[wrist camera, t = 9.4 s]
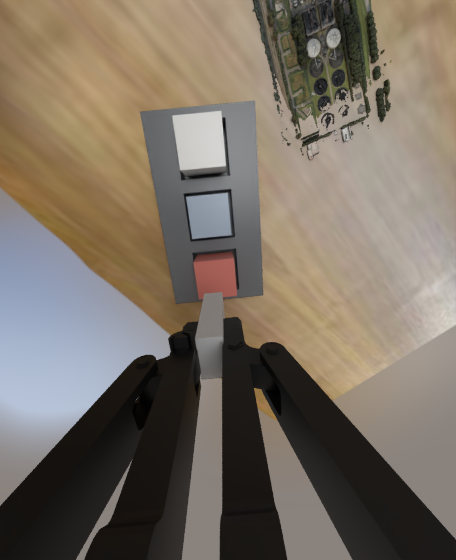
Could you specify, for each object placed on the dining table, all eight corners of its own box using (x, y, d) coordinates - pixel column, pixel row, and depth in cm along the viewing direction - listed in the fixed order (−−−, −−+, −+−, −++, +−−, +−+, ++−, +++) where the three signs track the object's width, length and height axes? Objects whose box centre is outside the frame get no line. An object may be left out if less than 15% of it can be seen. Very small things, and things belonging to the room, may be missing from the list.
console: (182, 290, 34) (176, 303, 29) (154, 129, 27) (140, 111, 22) (257, 283, 34) (263, 295, 29) (248, 120, 27) (255, 100, 22)
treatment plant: (421, 101, 27) (450, 85, 24) (296, 181, 30) (306, 177, 26) (351, -172, 20) (379, -253, 17) (195, -37, 23) (190, -82, 19)
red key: (201, 287, 29) (198, 299, 25) (197, 255, 28) (193, 262, 24) (235, 284, 29) (237, 295, 25) (232, 251, 28) (234, 258, 24)
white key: (186, 176, 25) (180, 170, 21) (180, 130, 23) (172, 115, 20) (225, 172, 25) (226, 165, 21) (221, 126, 23) (221, 110, 20)
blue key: (196, 235, 28) (192, 238, 25) (190, 198, 27) (186, 196, 23) (230, 231, 28) (231, 235, 25) (226, 195, 27) (227, 192, 23)
